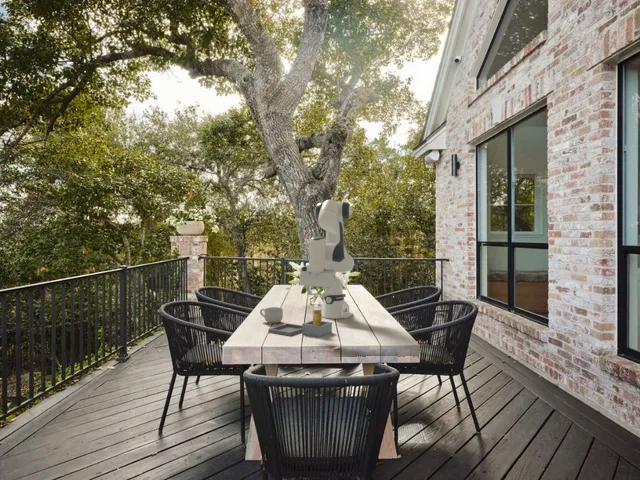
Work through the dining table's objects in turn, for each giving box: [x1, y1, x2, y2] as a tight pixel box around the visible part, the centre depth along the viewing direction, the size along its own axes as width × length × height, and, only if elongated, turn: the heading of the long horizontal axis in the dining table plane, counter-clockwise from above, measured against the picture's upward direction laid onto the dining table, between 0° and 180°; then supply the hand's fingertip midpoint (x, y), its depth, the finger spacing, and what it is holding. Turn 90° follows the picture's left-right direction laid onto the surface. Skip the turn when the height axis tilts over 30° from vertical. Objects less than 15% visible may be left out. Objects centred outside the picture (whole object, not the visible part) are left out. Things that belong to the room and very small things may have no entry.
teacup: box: [259, 306, 284, 325], centre depth 235 cm, size 14×11×8 cm
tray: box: [268, 322, 302, 337], centre depth 211 cm, size 16×14×2 cm
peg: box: [312, 308, 322, 326], centre depth 206 cm, size 4×4×12 cm
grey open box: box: [301, 319, 333, 338], centre depth 206 cm, size 11×11×6 cm
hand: (317, 295), depth 206 cm, fingers open, 8 cm apart
